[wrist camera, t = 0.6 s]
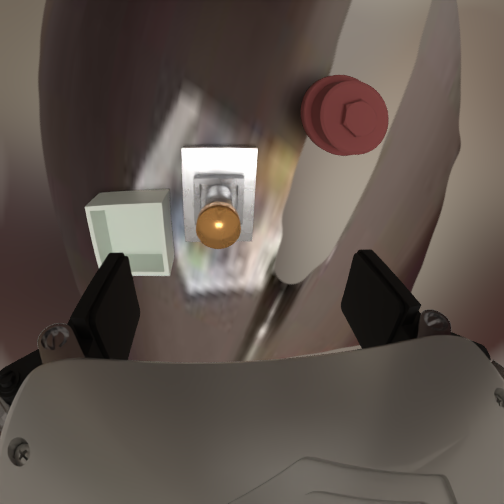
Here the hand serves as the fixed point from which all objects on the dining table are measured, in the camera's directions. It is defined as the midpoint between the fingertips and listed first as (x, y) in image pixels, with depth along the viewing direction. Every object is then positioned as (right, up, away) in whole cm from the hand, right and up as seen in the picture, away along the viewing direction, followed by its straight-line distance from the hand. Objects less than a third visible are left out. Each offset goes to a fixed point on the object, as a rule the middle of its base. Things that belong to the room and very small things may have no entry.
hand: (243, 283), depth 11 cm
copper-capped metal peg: (-4, +9, +27) cm, 28 cm away
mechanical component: (+10, +21, +24) cm, 33 cm away
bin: (-18, +5, +29) cm, 35 cm away
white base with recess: (-5, +10, +28) cm, 30 cm away
